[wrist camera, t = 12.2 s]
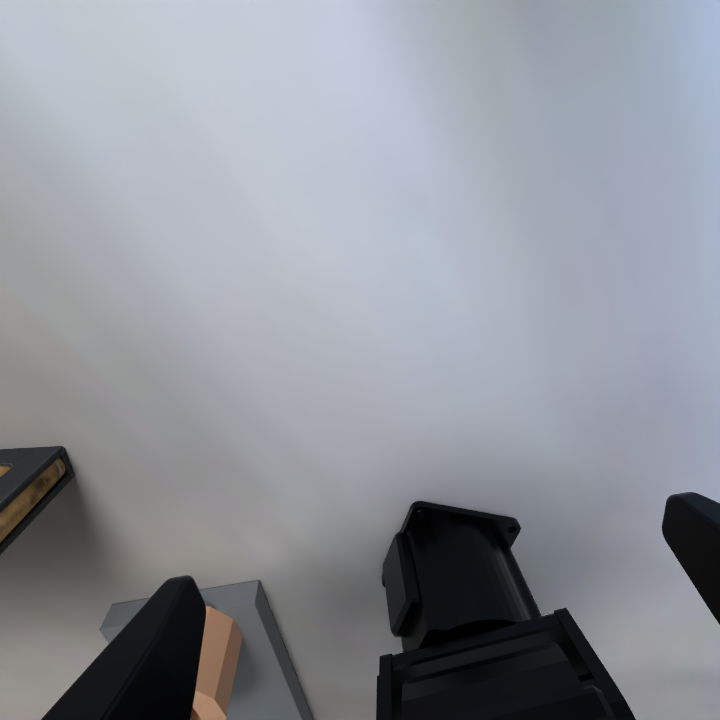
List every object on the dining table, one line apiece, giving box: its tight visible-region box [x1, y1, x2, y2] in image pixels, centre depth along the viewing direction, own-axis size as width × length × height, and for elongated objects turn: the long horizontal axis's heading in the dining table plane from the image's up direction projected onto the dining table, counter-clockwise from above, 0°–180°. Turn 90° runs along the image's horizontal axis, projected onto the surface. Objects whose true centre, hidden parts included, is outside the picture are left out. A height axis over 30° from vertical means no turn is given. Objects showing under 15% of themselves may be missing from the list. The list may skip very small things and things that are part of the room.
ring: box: [190, 606, 243, 720], centre depth 22 cm, size 6×6×4 cm
